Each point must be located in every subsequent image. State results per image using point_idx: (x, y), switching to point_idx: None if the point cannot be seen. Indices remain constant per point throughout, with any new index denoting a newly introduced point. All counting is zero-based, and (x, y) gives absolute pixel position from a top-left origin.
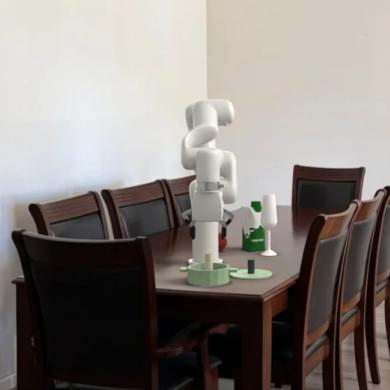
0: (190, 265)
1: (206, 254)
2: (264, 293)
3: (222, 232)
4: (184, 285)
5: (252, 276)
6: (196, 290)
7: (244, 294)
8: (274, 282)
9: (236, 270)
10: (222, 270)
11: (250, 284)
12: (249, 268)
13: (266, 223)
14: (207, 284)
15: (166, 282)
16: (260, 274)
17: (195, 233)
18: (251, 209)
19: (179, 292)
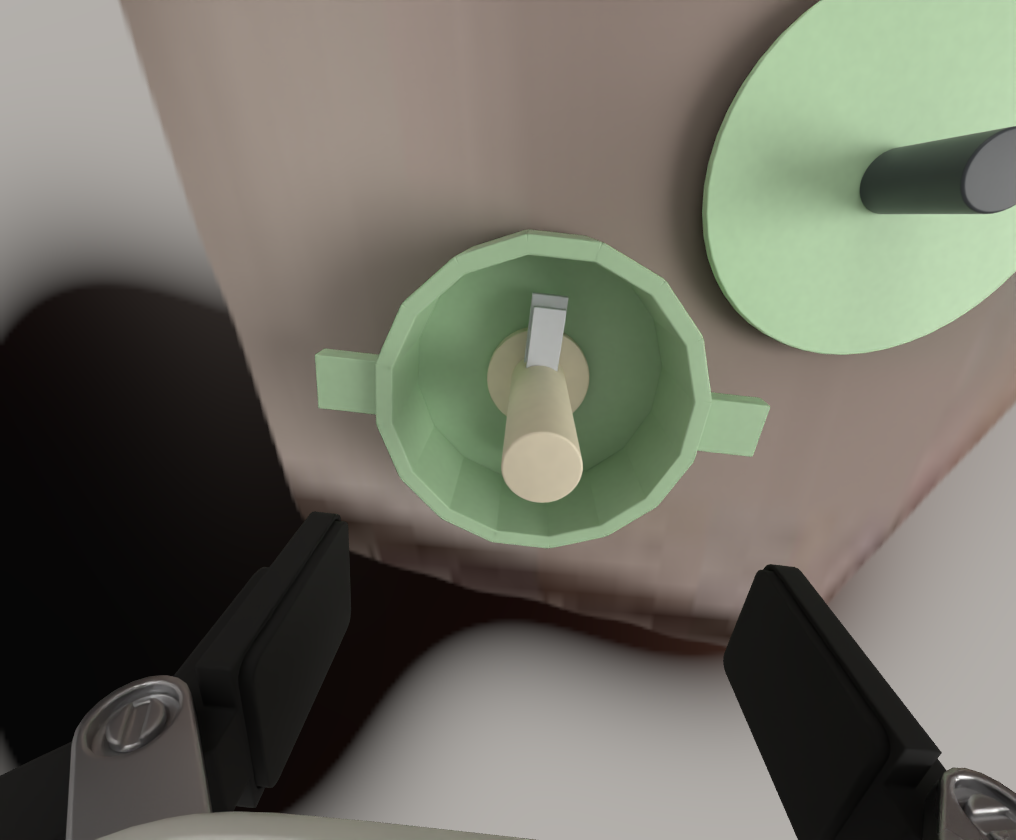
0: (386, 364)
1: (520, 493)
2: None
3: (784, 771)
4: None
5: (861, 311)
6: (477, 537)
7: (711, 623)
8: (969, 389)
9: (746, 454)
10: (638, 511)
11: (794, 431)
12: (901, 208)
13: None
14: None
15: (266, 338)
16: (951, 239)
17: (318, 569)
18: None
19: (397, 565)
